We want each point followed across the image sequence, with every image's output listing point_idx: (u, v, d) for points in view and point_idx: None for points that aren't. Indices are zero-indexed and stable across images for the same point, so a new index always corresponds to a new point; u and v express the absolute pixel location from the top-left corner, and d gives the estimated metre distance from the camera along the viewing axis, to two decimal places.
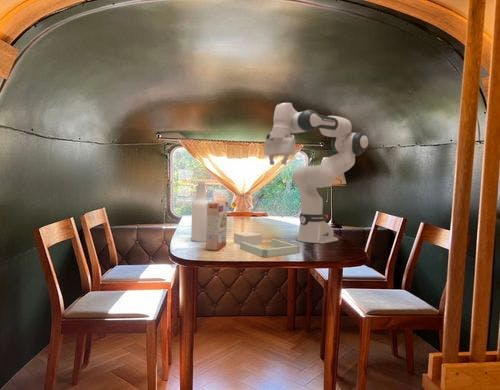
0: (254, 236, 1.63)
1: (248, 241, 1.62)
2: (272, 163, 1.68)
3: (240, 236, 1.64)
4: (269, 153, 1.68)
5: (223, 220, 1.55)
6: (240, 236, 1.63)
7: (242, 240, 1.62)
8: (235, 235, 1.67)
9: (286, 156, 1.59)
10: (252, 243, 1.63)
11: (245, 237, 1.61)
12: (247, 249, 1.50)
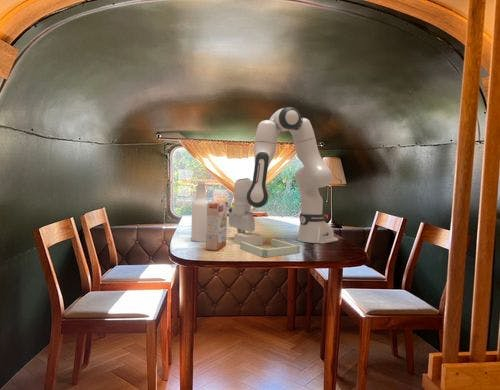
0: (255, 236, 1.63)
1: (250, 242, 1.61)
2: None
3: (241, 237, 1.62)
4: (233, 226, 1.76)
5: (223, 220, 1.55)
6: (242, 237, 1.62)
7: (243, 241, 1.61)
8: (236, 236, 1.66)
9: (243, 231, 1.70)
10: (254, 244, 1.62)
11: (247, 238, 1.60)
12: (247, 249, 1.50)
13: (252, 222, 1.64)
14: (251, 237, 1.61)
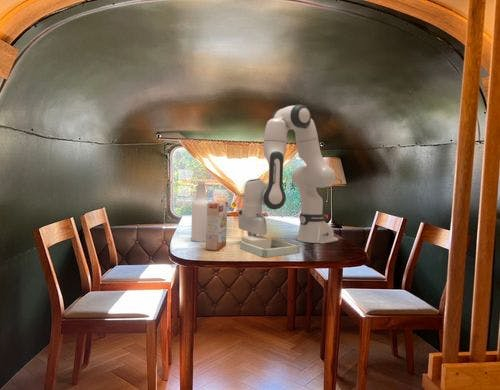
0: (262, 240, 1.53)
1: None
2: None
3: (247, 240, 1.54)
4: (243, 228, 1.68)
5: (223, 220, 1.55)
6: (248, 240, 1.53)
7: None
8: (243, 239, 1.58)
9: (254, 234, 1.62)
10: None
11: (252, 241, 1.51)
12: (247, 249, 1.50)
13: (264, 225, 1.56)
14: (257, 241, 1.52)
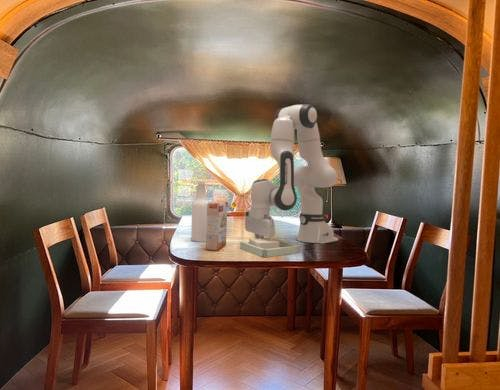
0: (270, 243, 1.48)
1: None
2: None
3: (254, 243, 1.49)
4: (250, 230, 1.62)
5: (223, 220, 1.55)
6: (255, 243, 1.48)
7: None
8: (250, 241, 1.53)
9: (261, 236, 1.57)
10: None
11: (259, 244, 1.46)
12: (247, 249, 1.50)
13: (272, 227, 1.51)
14: (264, 243, 1.46)
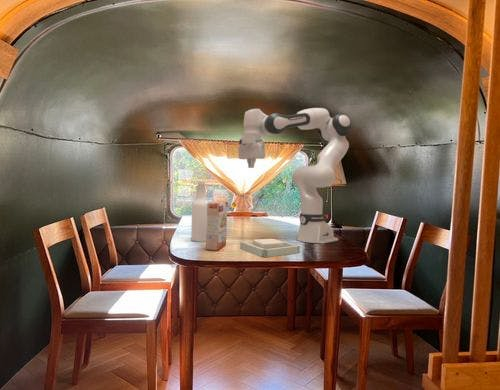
0: (274, 244, 1.45)
1: None
2: None
3: (259, 244, 1.46)
4: (243, 157, 1.78)
5: (223, 220, 1.55)
6: (259, 244, 1.46)
7: None
8: (254, 242, 1.50)
9: (253, 160, 1.73)
10: None
11: (264, 245, 1.43)
12: (247, 249, 1.50)
13: (262, 149, 1.67)
14: (269, 245, 1.44)
